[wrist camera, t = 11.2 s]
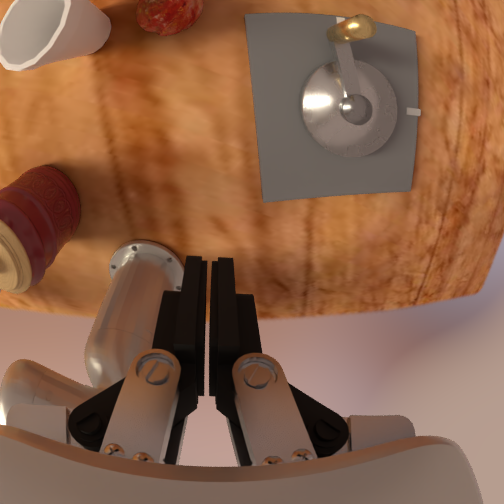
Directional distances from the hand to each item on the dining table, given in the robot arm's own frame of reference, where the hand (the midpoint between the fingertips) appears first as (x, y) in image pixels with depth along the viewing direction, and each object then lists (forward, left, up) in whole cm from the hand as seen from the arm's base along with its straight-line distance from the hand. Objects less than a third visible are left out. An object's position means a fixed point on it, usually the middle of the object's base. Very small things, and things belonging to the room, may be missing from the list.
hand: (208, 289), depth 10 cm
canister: (-3, +28, -27) cm, 39 cm away
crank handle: (+6, -15, -24) cm, 29 cm away
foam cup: (+19, +15, -27) cm, 36 cm away
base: (+4, -15, -26) cm, 31 cm away
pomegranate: (+18, +4, -27) cm, 32 cm away
